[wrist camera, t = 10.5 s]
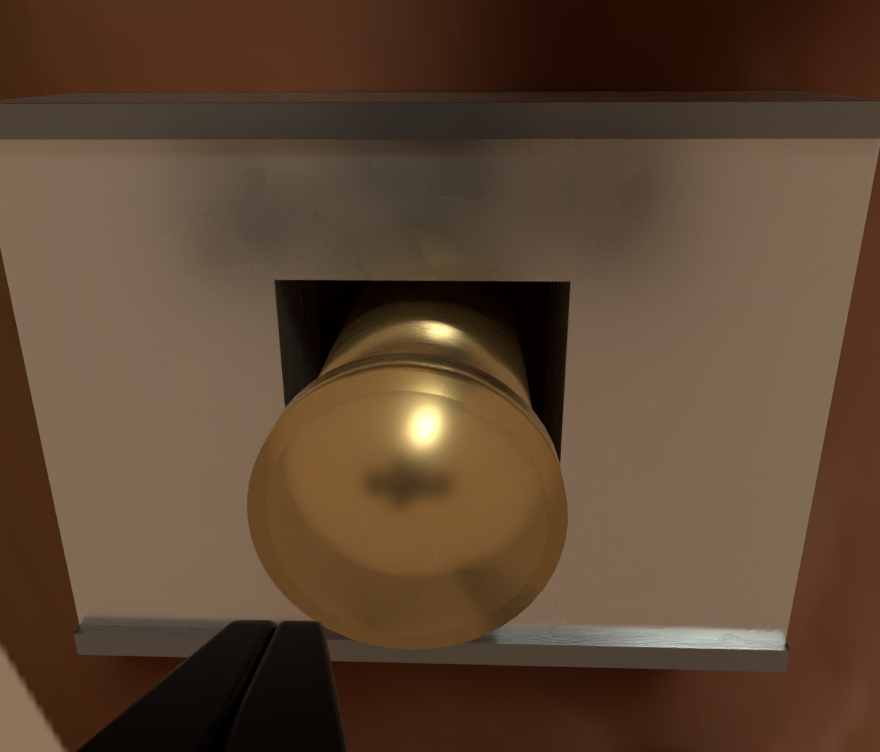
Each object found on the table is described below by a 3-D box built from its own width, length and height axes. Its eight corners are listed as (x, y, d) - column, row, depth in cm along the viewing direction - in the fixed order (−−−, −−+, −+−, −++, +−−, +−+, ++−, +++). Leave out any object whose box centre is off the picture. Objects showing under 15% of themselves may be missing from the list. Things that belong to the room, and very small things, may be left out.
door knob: (537, 248, 19) (577, 373, 12) (529, 439, 21) (559, 653, 13) (325, 247, 19) (231, 369, 12) (336, 436, 21) (261, 646, 14)
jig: (800, 90, 17) (897, 100, 13) (729, 559, 22) (786, 672, 18) (73, 92, 18) (-41, 104, 14) (148, 548, 22) (78, 654, 18)
